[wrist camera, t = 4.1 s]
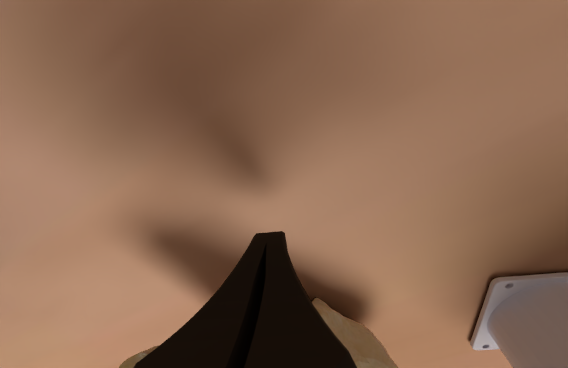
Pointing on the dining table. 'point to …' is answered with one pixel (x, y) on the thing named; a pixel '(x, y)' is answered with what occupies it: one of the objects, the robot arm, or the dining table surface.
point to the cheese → (353, 335)
